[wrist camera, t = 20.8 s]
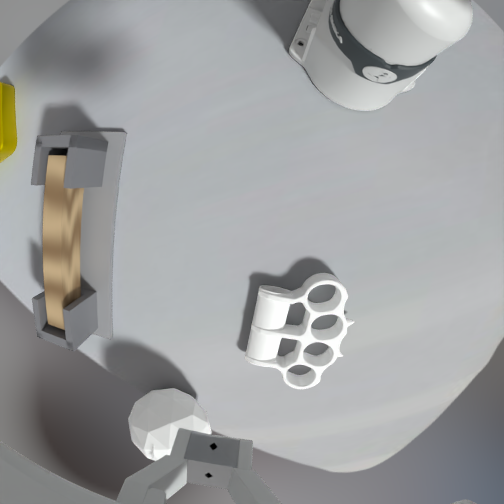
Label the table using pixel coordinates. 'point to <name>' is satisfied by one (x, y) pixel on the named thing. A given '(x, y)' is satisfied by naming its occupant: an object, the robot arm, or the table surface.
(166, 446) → the geodesic sphere
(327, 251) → the table surface
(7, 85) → the element tile
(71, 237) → the oak slat
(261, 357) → the knuckle duster
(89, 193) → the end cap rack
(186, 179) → the table surface
